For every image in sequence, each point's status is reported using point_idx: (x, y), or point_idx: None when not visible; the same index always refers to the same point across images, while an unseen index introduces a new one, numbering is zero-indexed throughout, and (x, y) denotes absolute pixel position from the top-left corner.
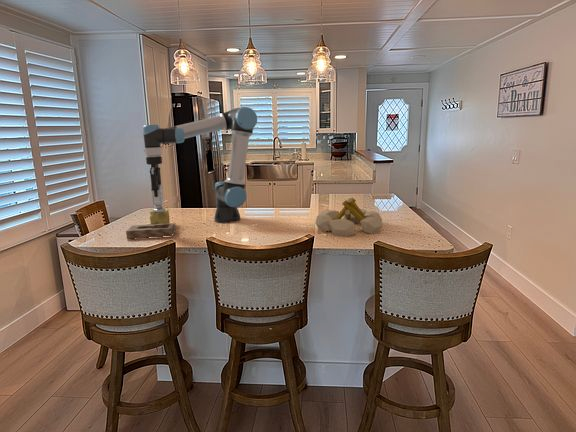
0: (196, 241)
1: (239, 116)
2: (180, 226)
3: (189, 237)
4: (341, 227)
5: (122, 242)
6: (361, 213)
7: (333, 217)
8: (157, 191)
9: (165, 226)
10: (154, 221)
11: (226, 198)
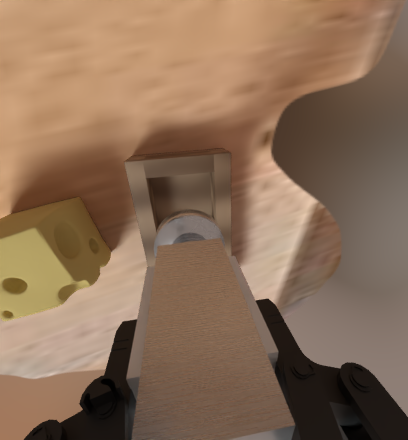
0: (315, 11)
1: None
2: (43, 154)
3: (241, 63)
4: None
5: (249, 275)
6: None
7: None
8: (269, 346)
9: (150, 196)
10: (94, 258)
11: None
